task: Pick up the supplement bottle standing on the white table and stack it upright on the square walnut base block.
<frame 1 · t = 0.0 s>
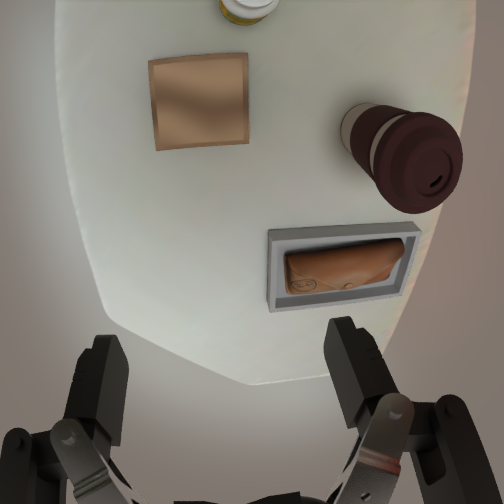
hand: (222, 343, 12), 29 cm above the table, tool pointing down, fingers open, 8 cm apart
brown elongated piece: (342, 263, 48), resting on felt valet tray
coffee cup: (365, 129, 37), on the table
supplement bottle: (243, 4, 27), on the table
walnut base: (200, 98, 33), on the table
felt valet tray: (341, 261, 48), on the table
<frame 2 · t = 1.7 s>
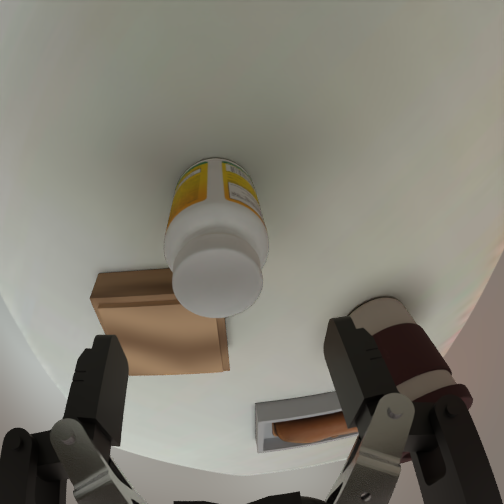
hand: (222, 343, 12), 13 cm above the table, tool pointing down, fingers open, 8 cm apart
brown elongated piece: (331, 412, 43), resting on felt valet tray
coffee cup: (371, 319, 32), on the table
supplement bottle: (214, 192, 22), on the table
walnut base: (167, 314, 28), on the table
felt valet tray: (331, 411, 43), on the table
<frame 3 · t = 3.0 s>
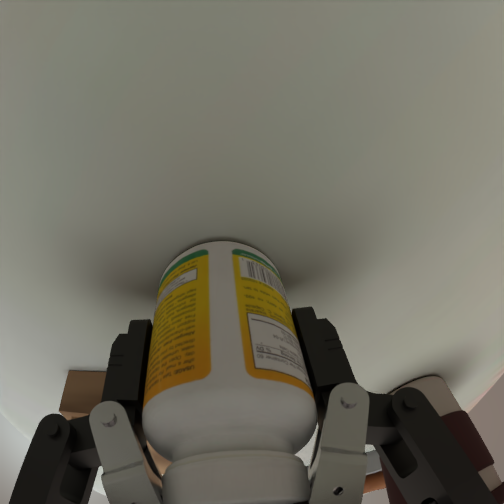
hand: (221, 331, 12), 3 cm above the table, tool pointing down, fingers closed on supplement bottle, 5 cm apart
brown elongated piece: (347, 471, 35), resting on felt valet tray
coffee cup: (406, 396, 24), on the table
supplement bottle: (219, 285, 14), on the table, touching gripper
walnut base: (161, 411, 20), on the table
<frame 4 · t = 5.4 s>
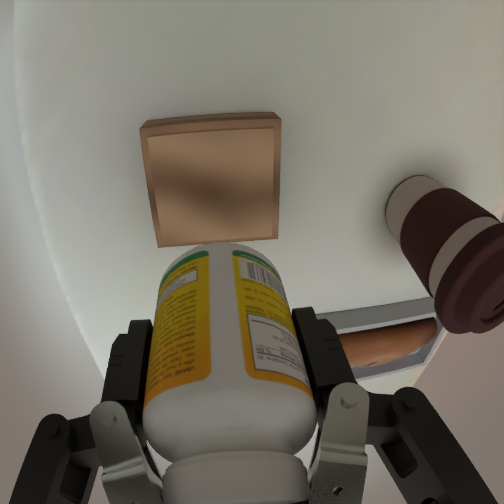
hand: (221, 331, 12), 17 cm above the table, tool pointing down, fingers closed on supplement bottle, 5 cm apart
brown elongated piece: (368, 337, 41), resting on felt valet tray
coffee cup: (412, 205, 31), on the table
supplement bottle: (219, 286, 14), point 15 cm above the table, touching gripper
walnut base: (213, 173, 26), on the table
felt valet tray: (368, 338, 42), on the table
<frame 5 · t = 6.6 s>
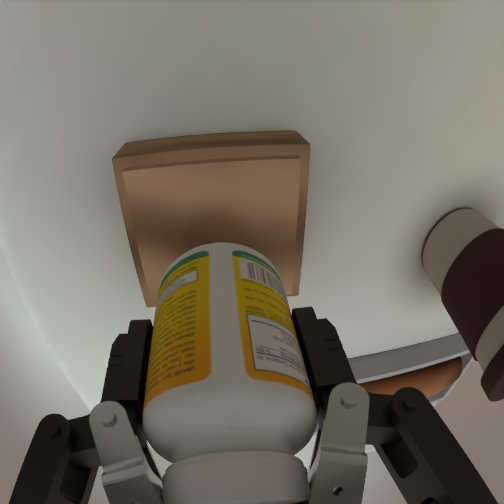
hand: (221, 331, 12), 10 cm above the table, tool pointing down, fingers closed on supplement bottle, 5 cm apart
brown elongated piece: (388, 378, 35), resting on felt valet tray
coffee cup: (451, 241, 25), on the table
supplement bottle: (219, 286, 14), point 7 cm above the table, touching gripper
walnut base: (215, 210, 20), on the table
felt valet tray: (387, 379, 36), on the table
when the fingers open (7 cm above the table, at t = 7.7 s): supplement bottle stays where it is, resting on walnut base.
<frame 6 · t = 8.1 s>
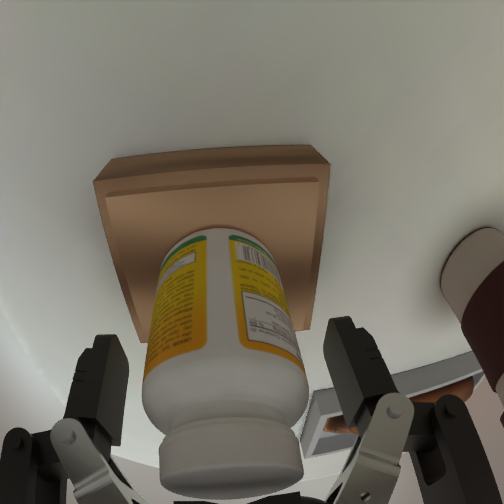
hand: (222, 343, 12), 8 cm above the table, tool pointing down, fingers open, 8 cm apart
brown elongated piece: (397, 398, 32), resting on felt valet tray
coffee cup: (470, 262, 22), on the table
supplement bottle: (217, 271, 15), point 3 cm above the table, touching walnut base
walnut base: (216, 236, 18), on the table
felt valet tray: (396, 399, 33), on the table
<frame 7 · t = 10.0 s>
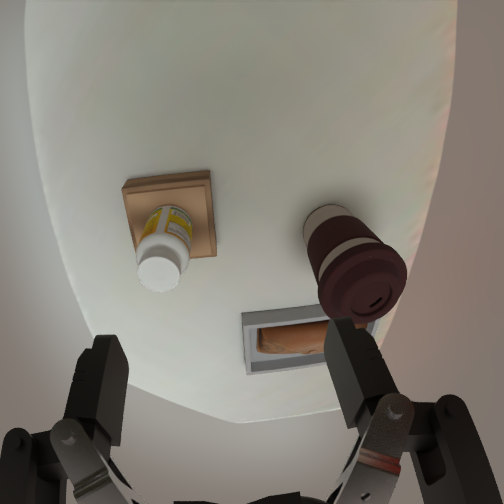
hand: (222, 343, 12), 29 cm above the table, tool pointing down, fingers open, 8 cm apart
brown elongated piece: (309, 330, 53), resting on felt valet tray
coffee cup: (327, 227, 43), on the table
supplement bottle: (169, 224, 37), point 3 cm above the table, touching walnut base
walnut base: (172, 212, 39), on the table
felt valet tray: (309, 332, 54), on the table
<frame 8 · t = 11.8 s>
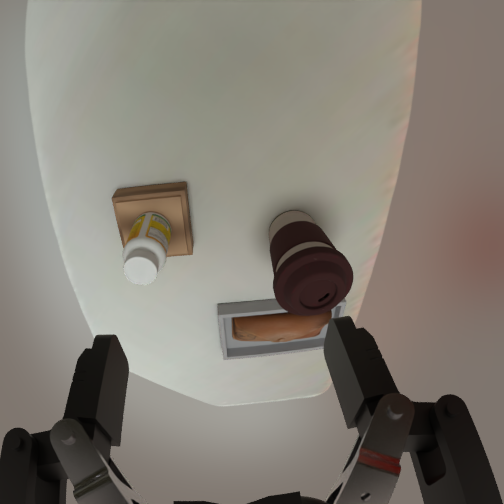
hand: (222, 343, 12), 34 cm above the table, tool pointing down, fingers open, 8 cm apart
brown elongated piece: (279, 320, 60), resting on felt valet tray
coffee cup: (291, 229, 50), on the table
supplement bottle: (152, 227, 43), point 3 cm above the table, touching walnut base
walnut base: (155, 216, 46), on the table
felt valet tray: (279, 322, 61), on the table
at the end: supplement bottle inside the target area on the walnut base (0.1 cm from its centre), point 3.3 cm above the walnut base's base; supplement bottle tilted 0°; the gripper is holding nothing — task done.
